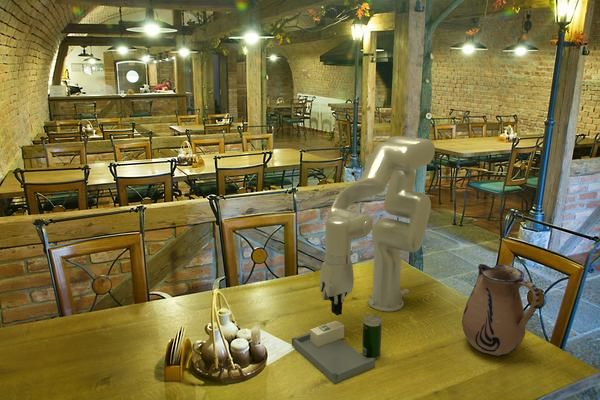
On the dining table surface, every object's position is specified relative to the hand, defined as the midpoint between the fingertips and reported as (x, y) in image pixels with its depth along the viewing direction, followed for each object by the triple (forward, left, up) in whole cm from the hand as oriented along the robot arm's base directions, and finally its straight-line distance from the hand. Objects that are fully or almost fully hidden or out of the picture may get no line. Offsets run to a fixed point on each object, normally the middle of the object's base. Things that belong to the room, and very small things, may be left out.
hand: (336, 313), depth 150 cm
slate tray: (+7, +7, -9) cm, 13 cm away
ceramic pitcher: (-37, +31, -9) cm, 49 cm away
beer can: (-3, +13, -9) cm, 16 cm away
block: (-2, 0, -6) cm, 6 cm away
